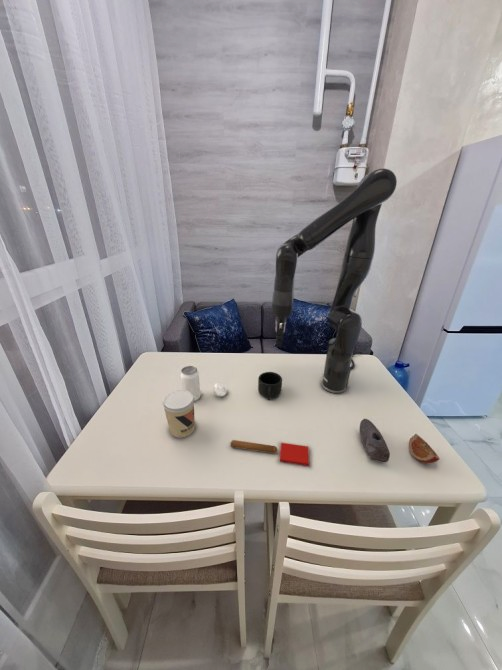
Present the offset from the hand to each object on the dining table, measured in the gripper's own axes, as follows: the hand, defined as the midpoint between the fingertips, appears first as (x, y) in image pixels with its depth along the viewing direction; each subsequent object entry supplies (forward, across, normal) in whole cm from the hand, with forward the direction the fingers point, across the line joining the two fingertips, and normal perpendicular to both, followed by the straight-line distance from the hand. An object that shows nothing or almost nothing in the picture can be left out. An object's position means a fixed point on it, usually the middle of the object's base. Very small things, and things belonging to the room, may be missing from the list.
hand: (279, 341), depth 102 cm
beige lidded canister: (+20, -31, +29) cm, 46 cm away
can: (+19, -15, +31) cm, 39 cm away
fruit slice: (+18, -31, -44) cm, 57 cm away
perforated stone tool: (+18, -30, -30) cm, 46 cm away
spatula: (+19, -36, +1) cm, 40 cm away
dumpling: (+19, -12, +21) cm, 31 cm away
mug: (+19, -10, +2) cm, 21 cm away
